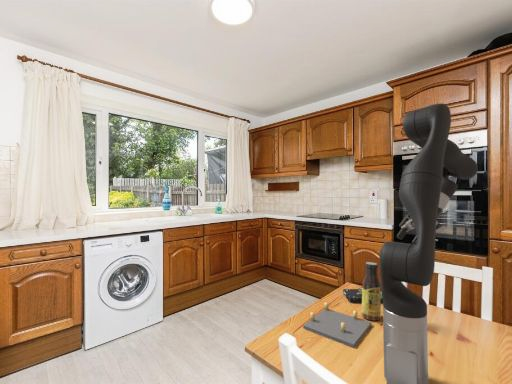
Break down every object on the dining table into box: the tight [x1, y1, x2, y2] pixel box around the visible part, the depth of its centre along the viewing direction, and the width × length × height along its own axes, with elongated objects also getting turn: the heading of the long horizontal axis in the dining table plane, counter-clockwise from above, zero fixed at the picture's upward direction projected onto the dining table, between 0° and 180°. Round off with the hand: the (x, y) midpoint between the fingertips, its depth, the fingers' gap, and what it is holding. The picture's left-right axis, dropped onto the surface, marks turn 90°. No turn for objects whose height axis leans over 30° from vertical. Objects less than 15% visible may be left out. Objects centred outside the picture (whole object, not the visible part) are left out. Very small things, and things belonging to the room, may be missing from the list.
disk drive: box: [342, 288, 383, 305], centre depth 110 cm, size 10×3×15 cm
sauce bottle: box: [361, 261, 382, 322], centre depth 93 cm, size 6×6×20 cm
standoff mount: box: [302, 301, 373, 349], centre depth 86 cm, size 17×17×4 cm
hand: (406, 241), depth 92 cm, fingers open, 8 cm apart
